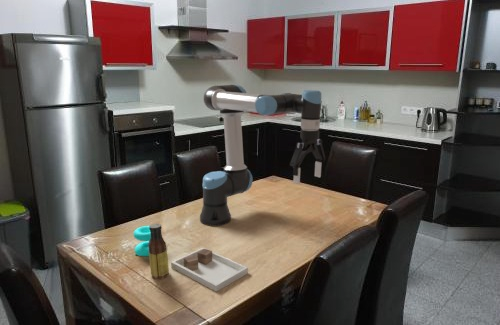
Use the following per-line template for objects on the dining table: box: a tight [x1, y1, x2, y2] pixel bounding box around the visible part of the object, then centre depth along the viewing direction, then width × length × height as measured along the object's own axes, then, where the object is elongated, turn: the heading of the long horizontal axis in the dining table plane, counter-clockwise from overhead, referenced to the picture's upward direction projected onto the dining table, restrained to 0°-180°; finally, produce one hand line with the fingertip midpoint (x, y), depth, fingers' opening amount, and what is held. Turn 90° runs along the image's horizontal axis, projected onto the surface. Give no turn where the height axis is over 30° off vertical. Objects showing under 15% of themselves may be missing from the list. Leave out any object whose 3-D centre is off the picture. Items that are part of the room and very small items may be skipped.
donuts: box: [133, 225, 151, 257], centre depth 157 cm, size 10×10×10 cm
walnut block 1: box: [184, 255, 198, 271], centre depth 144 cm, size 4×4×4 cm
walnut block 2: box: [197, 248, 213, 265], centre depth 149 cm, size 4×4×4 cm
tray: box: [170, 246, 249, 293], centre depth 143 cm, size 24×16×3 cm, turn 49°
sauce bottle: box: [148, 223, 170, 280], centre depth 138 cm, size 7×6×20 cm
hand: (307, 179), depth 162 cm, fingers open, 13 cm apart
